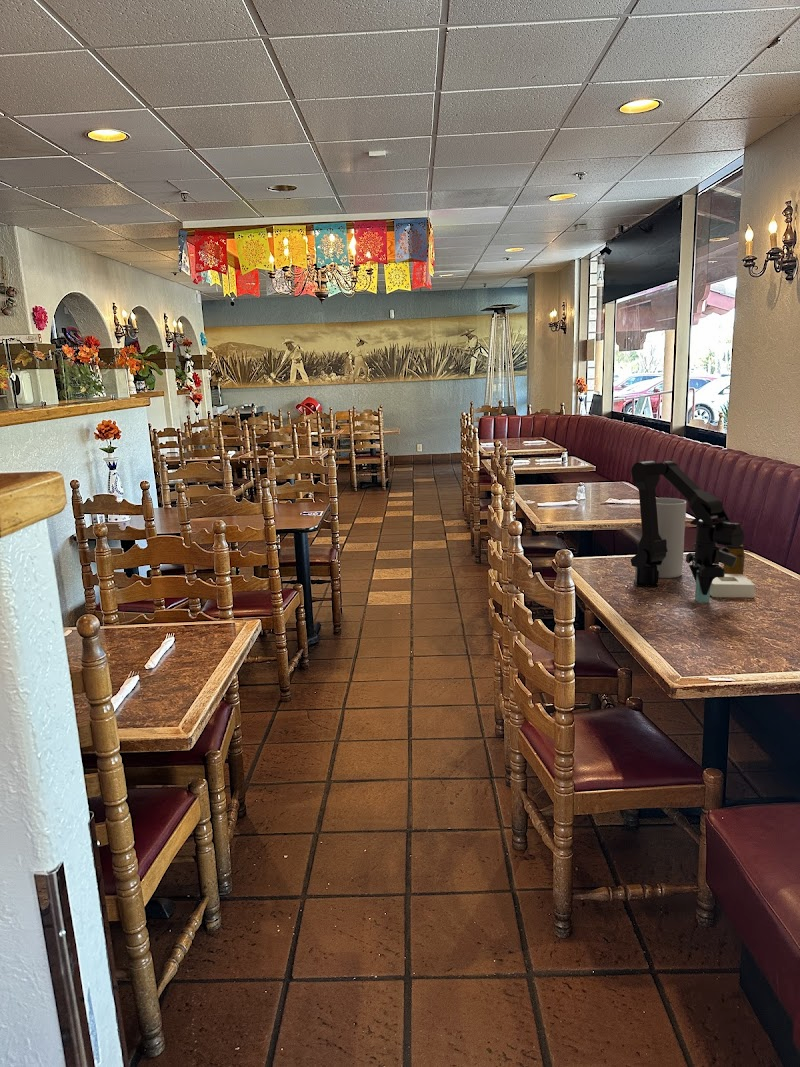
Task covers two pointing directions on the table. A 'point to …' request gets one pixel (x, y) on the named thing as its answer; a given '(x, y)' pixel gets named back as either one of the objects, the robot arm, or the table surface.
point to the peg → (698, 595)
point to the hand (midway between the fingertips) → (702, 592)
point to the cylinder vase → (671, 534)
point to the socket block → (732, 586)
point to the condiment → (739, 562)
